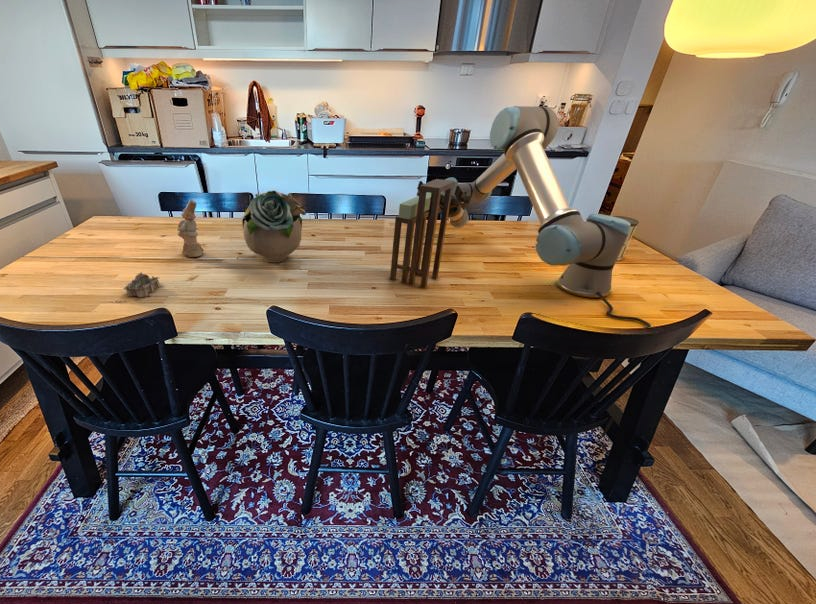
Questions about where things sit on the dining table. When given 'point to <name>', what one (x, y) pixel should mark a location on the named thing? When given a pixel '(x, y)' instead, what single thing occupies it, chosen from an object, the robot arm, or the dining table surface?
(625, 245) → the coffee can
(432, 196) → the step rack
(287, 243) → the flower arrangement
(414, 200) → the sage box
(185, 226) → the figurine
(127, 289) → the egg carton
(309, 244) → the dining table surface
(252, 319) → the dining table surface
